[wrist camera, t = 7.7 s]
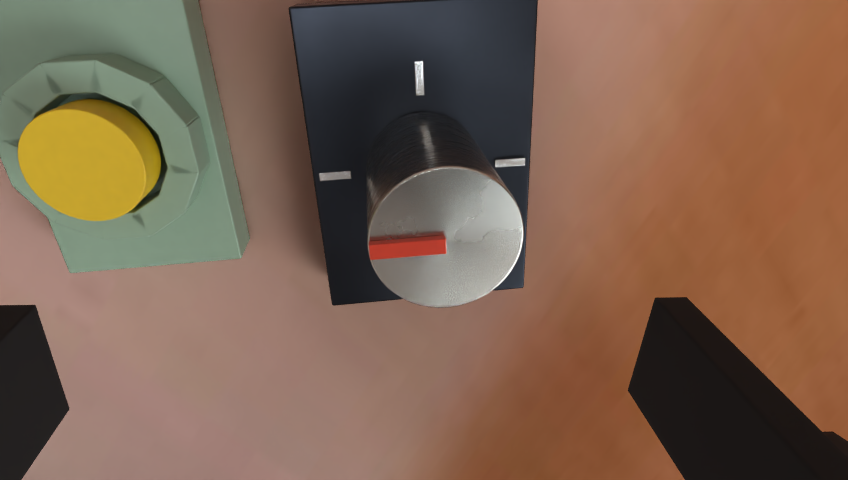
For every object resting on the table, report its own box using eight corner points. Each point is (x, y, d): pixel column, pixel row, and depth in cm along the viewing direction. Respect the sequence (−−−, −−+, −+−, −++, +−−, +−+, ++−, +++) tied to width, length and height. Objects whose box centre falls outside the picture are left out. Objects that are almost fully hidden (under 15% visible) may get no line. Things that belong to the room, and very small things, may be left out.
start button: (173, 200, 22) (159, 216, 21) (65, 208, 22) (42, 226, 20) (144, 95, 20) (126, 104, 19) (24, 102, 20) (-4, 112, 18)
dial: (480, 107, 23) (530, 163, 16) (479, 216, 25) (523, 306, 18) (361, 115, 23) (360, 176, 16) (371, 224, 25) (374, 319, 18)
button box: (250, 238, 27) (233, 277, 24) (90, 252, 27) (48, 294, 23) (195, -18, 22) (162, -17, 18) (-7, -8, 21) (-81, -5, 18)
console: (511, 265, 30) (525, 290, 27) (334, 281, 29) (331, 308, 27) (521, -8, 23) (539, -7, 21) (295, 4, 23) (287, 7, 20)
